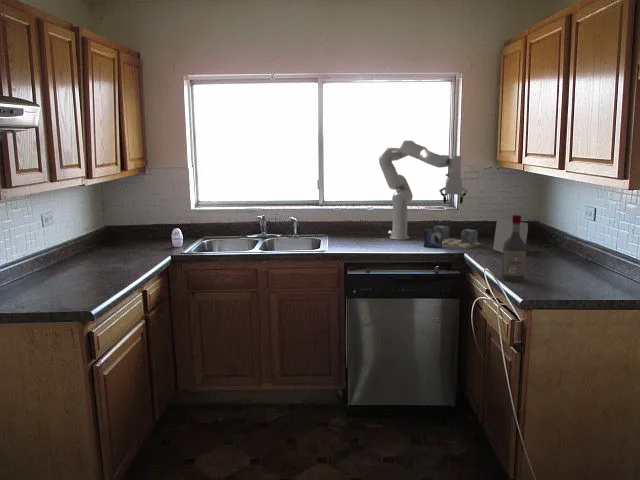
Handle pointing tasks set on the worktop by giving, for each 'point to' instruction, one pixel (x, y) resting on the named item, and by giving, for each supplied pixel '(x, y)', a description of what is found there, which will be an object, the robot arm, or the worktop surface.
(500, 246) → the electrical switch box
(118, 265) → the worktop surface
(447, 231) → the rail board
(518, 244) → the liquor
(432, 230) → the small box
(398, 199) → the robot arm
